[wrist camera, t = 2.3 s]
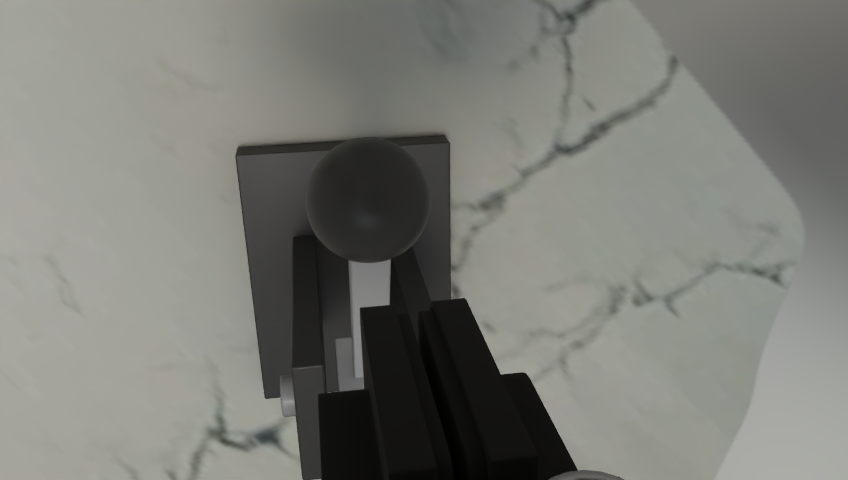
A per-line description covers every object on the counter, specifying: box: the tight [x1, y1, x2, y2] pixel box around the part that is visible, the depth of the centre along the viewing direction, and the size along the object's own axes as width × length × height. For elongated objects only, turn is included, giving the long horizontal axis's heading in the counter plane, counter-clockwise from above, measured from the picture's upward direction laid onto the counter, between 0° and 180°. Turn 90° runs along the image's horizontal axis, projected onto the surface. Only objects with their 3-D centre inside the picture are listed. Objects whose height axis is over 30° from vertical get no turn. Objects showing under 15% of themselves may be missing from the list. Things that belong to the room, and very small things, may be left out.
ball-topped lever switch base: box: [235, 135, 451, 480], centre depth 30 cm, size 12×9×12 cm
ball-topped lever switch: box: [305, 138, 431, 392], centre depth 22 cm, size 12×3×3 cm, turn 0°
